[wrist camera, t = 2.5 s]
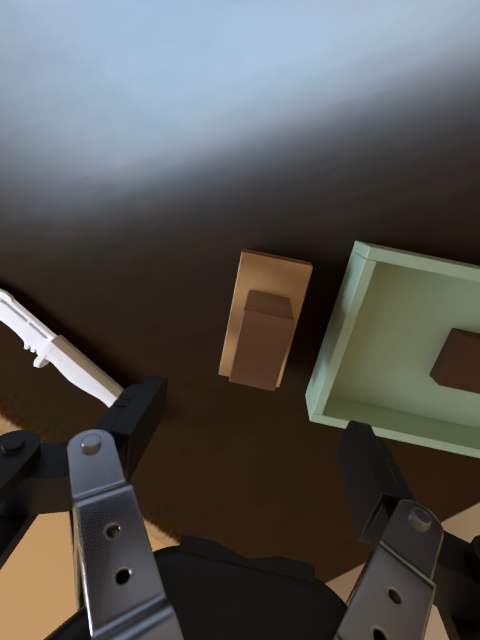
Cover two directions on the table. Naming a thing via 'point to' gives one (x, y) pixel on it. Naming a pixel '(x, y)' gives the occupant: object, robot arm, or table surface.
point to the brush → (263, 318)
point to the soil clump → (459, 362)
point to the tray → (398, 349)
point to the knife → (57, 351)
